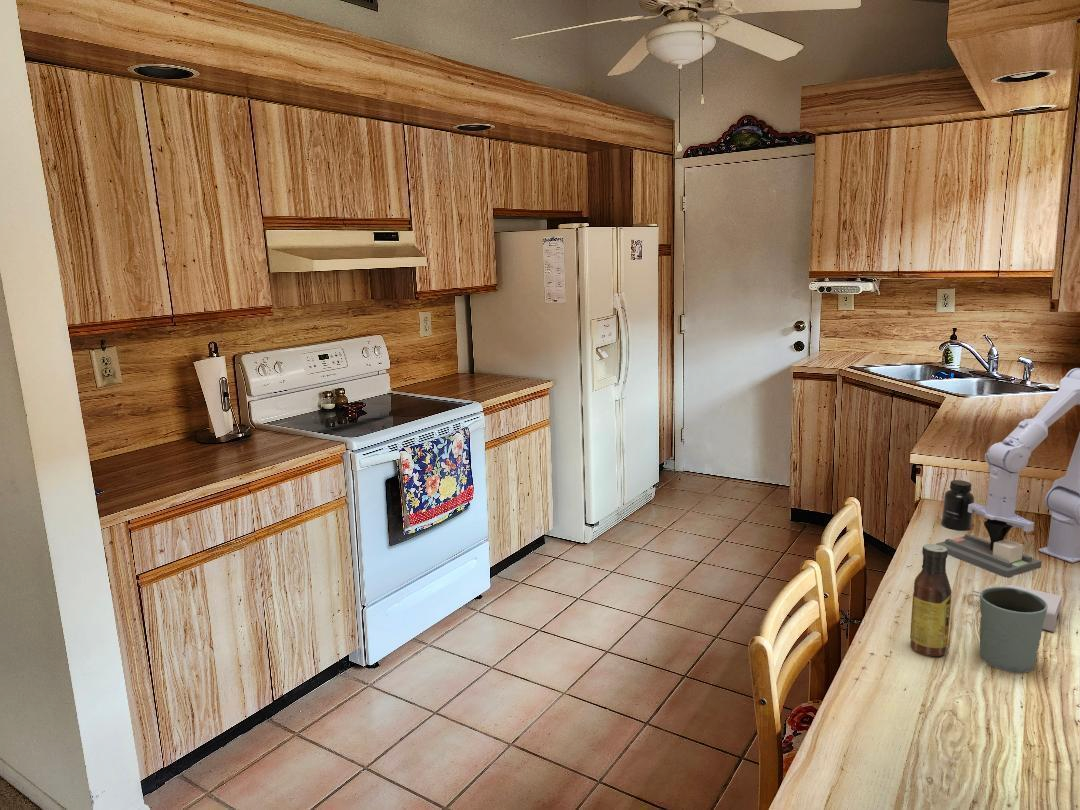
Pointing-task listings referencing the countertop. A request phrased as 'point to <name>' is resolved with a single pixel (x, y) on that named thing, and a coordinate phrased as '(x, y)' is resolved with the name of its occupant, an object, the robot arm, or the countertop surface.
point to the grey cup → (1010, 628)
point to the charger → (1051, 601)
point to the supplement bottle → (957, 506)
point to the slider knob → (1008, 550)
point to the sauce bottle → (931, 603)
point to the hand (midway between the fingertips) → (995, 550)
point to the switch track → (987, 556)
